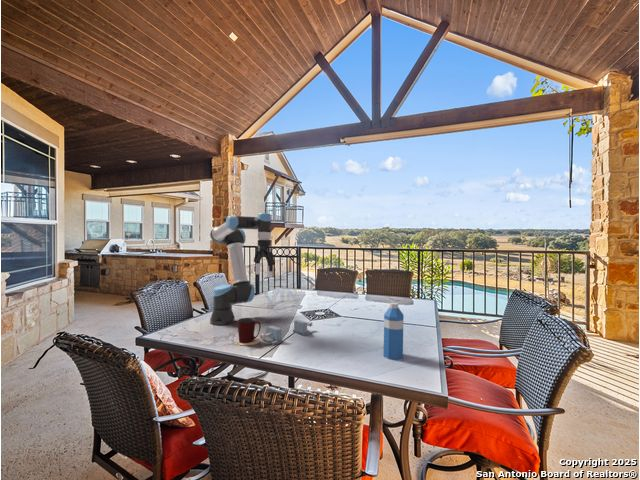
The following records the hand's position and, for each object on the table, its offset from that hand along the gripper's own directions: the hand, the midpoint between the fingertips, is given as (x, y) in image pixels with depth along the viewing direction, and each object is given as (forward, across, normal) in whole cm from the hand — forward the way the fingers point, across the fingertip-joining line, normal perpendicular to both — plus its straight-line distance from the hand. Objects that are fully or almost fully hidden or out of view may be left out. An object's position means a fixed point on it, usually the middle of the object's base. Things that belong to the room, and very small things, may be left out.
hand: (263, 275), depth 176 cm
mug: (+32, +12, -16) cm, 38 cm away
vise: (+32, +19, +5) cm, 38 cm away
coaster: (+32, +12, -16) cm, 38 cm away
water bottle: (+32, +72, +28) cm, 84 cm away
